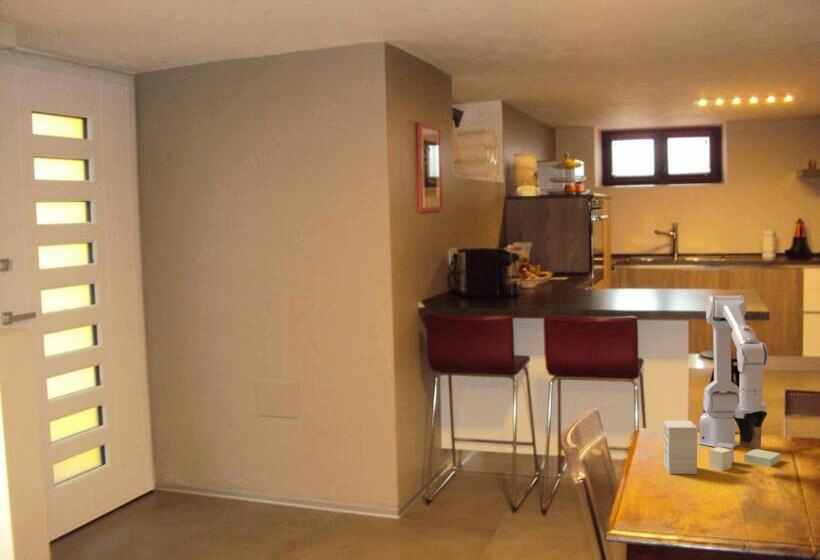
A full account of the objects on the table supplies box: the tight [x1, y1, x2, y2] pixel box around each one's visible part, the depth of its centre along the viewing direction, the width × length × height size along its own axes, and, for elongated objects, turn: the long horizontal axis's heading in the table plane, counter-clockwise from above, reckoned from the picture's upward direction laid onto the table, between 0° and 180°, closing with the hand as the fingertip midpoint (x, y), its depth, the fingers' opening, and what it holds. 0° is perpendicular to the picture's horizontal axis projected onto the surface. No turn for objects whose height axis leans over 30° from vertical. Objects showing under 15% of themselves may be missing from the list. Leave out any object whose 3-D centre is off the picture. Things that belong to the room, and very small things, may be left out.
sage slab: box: [743, 448, 781, 468], centre depth 235 cm, size 7×7×2 cm
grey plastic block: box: [715, 442, 735, 466], centre depth 234 cm, size 4×4×5 cm
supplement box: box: [663, 420, 698, 475], centre depth 228 cm, size 7×7×13 cm
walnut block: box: [738, 427, 762, 450], centre depth 226 cm, size 4×4×5 cm
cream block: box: [708, 447, 732, 472], centre depth 230 cm, size 4×4×5 cm
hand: (749, 440), depth 226 cm, fingers closed on walnut block, 4 cm apart
